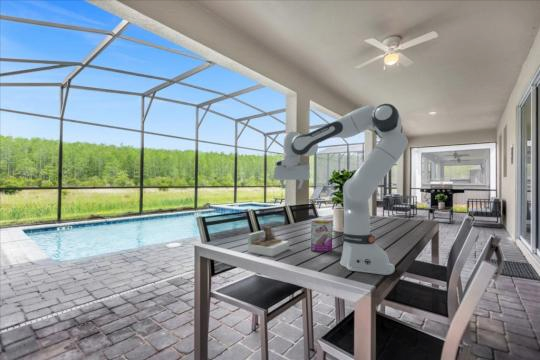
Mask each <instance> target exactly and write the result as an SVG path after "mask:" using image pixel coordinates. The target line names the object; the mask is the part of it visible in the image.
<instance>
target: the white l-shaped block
mask: <svg viewBox="0 0 540 360" xmlns="http://www.w3.org/2000/svg"><path fill="white" fill-rule="evenodd" d="M260 231H261V230H260ZM260 231H256V232H252V233H249V234H247V252H248V253H251V254H257V255H262V256H267V257H275V256H277V255H279V254H281V253H283V252H286V251H287V250H289V249H290V241H287V240H286V241H285V240H281V242H279V243H276V244H273V245H270V246H267V247H265V246H260V245H255V244H253V241H255V240H258V239H260Z"/></svg>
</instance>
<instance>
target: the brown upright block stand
mask: <svg viewBox="0 0 540 360" xmlns="http://www.w3.org/2000/svg"><path fill="white" fill-rule="evenodd" d="M275 230H276V229H275V228H272V226H268V225H267V226H266V225H265V226H263V230H260V239H258V240H255V241H253V244H255V245H260V246H265V247H267V246H270V245H273V244H276V243H279V242H281V241H282V238H279V237H276V234H275V232H276V231H275Z"/></svg>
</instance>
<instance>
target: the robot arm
mask: <svg viewBox="0 0 540 360" xmlns="http://www.w3.org/2000/svg"><path fill="white" fill-rule="evenodd" d="M367 130H373V132H374V133H375V135H377V136H378V137H379V138H380V140H379V142H378V143H377V144H376V145H375V146H374V147H373V149H372V150H371V151H370V153H369V154H368V155H367V156H366V157H365V159H364V160H363V161H362V163H361V164H360V165H359V167H358V168H357V170H356V171H355V173H354V174H353V175H352V176H351V178H348V179H346V181H345V182H344V183H343V186H342V195H343V196H342V198H343V199H342V200H343V232H342V239H341V240H342V244H343V247H342V253H341V257H340V261H339V265H341V266H342V267H344V268H346V269H347V270H348V271H351V272H352V271H354V272H360V273H369V274H375V275H376V274H377V275H382V276H383V275H384V276H388V275H392V274H393V273H394V272H395V271H396V268H395V265H394V264H393V263H390V260H389V256H388V252H386V251H385V250H383V249H382V247H380V246H379V245H377V244H376V241H375V240H376V238H375V236H376V235H373V234H371V214H370V205H369V199H370V198H371V197H372V195H373V194H374V193H375V192H376V190H378V187H379V186H380V184H381V183H382V181H383V180H384V178H385V177H386V175H388V173H389V172H390V171H391V169H392V168H393V167H394V166H395V164H396V163H397V162H398V161H399V159H401V157H402V155H403V154H404V152H405V151H406V149H407V146H408V144H409V139H408V138H407V136H406V135H405V134H404V133H403V126H402V118H401V116H400V114H399V110H398V109H397V108H396V107H395V106H394V105H393V104H391V103H383V104H378V106H376V107H375V106H373V105H371V104H368V105H364V106H362V107H359V108H357V109H354V110H353V111H350V112H348V113H347V114H345V115H343V116H341V117H339V118H337V119H336V120H333V121H332V122H330V123H329V124H326V125H324V126H322V127H319V128H318V129H315V130H313V131H310V132H307V133H299V132H297V131H291V132H287V133H286V134H285V135H284V138H283V153H284V154H283V157H282V158H283V159H280V160H278V161H276V162H275V164H274V165H275V168H274V172H273V178H274V179H275V180H277V181H279V183H280V184H281V188H282V189H286V184H285V183H284V182H285V181H288V180H289V181H298V182H299V184H297V186H296V187H297V188H296V189H298V190H299V189H302V185H303V183H304V181H309V180H310V178H311V176H310V164H309V163H308V162H306V161H305V162H302V161H301V156H304V157H305V156H306V157H312V156H313V155H315V154H316V153H317V152H318V148H319V144H320V143H323V142H325V141H326V140H329V139H333V138H340V139H341V138H342V139H348V138H351V137H354V136H357V135H359V134H361V133H363V132H366V131H367Z"/></svg>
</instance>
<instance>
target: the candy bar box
mask: <svg viewBox="0 0 540 360" xmlns="http://www.w3.org/2000/svg"><path fill="white" fill-rule="evenodd" d="M333 225H334V224H333V220H332V219H318V218H315V219H314V218H311V220H310V250H311V252H325V253H327V252H330V253H332V252H333Z"/></svg>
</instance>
